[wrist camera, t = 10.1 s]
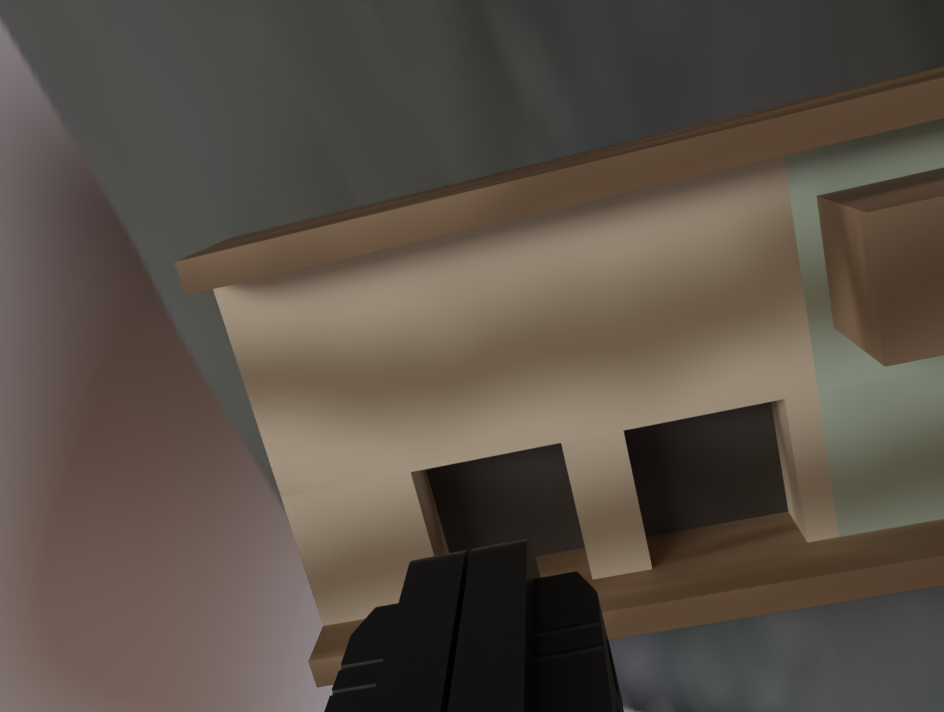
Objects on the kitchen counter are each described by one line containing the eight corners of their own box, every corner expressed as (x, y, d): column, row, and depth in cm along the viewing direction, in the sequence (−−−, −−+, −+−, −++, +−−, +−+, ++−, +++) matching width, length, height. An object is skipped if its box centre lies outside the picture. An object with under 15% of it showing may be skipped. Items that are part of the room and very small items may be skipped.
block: (816, 196, 25) (866, 212, 21) (981, 159, 24) (1063, 169, 20) (833, 327, 26) (884, 366, 22) (992, 295, 25) (1073, 330, 21)
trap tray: (228, 238, 29) (174, 262, 25) (977, 57, 26) (1065, 47, 21) (346, 610, 33) (317, 687, 28) (1014, 493, 29) (1096, 560, 25)
